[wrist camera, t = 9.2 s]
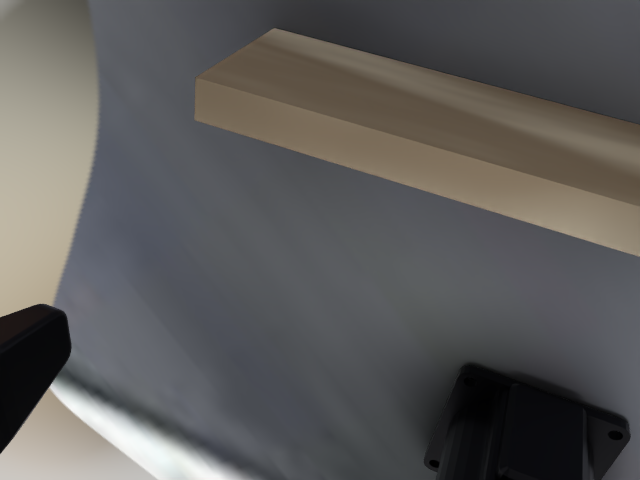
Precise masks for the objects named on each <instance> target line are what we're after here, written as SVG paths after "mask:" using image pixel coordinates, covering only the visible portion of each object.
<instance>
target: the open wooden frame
mask: <svg viewBox="0 0 640 480" xmlns="http://www.w3.org/2000/svg"><path fill="white" fill-rule="evenodd" d="M195 120H196V121H199V122H202V123H206V124H209V125H212V126H215V127H219V128H222V129H225V130H228V131H232V132H235V133H238V134H241V135H245V136H248V137H251V138H254V139H258V140H261V141H264V142H267V143H271V144H274V145H277V146H280V147H284V148H287V149H290V150H293V151H297V152H300V153H303V154H306V155H310V156H313V157H316V158H320V159H323V160H326V161H329V162H333V163H336V164H339V165H342V166H346V167H349V168H352V169H355V170H359V171H362V172H365V173H368V174H372V175H375V176H378V177H381V178H385V179H388V180H391V181H394V182H398V183H401V184H404V185H407V186H411V187H414V188H417V189H420V190H424V191H427V192H430V193H434V194H437V195H440V196H443V197H447V198H450V199H453V200H456V201H460V202H463V203H466V204H469V205H473V206H476V207H479V208H482V209H486V210H489V211H492V212H495V213H499V214H502V215H505V216H508V217H512V218H515V219H518V220H521V221H525V222H528V223H531V224H534V225H538V226H541V227H544V228H548V229H551V230H554V231H557V232H561V233H564V234H567V235H570V236H574V237H577V238H580V239H583V240H587V241H590V242H593V243H596V244H600V245H603V246H606V247H609V248H613V249H616V250H619V251H622V252H626V253H629V254H632V255H635V256H639V257H640V125H639V124H635V123H631V122H627V121H623V120H620V119H616V118H612V117H608V116H605V115H601V114H597V113H593V112H589V111H586V110H582V109H578V108H574V107H571V106H567V105H563V104H559V103H556V102H552V101H548V100H544V99H540V98H537V97H533V96H529V95H525V94H522V93H518V92H514V91H510V90H507V89H503V88H499V87H495V86H491V85H488V84H484V83H480V82H476V81H473V80H469V79H465V78H461V77H457V76H454V75H450V74H446V73H442V72H439V71H435V70H431V69H427V68H424V67H420V66H416V65H412V64H408V63H405V62H401V61H397V60H393V59H390V58H386V57H382V56H378V55H374V54H371V53H367V52H363V51H359V50H356V49H352V48H348V47H344V46H341V45H337V44H333V43H329V42H325V41H322V40H318V39H314V38H310V37H307V36H303V35H299V34H295V33H291V32H288V31H284V30H280V29H276V28H273V29H272V30H270V31H269V32H267V33H265V34H264V35H262V36H261V37H259V38H257V39H256V40H254V41H253V42H251V43H249V44H248V45H246V46H245V47H243V48H241V49H240V50H238V51H237V52H235V53H233V54H232V55H230V56H229V57H227V58H225V59H224V60H222V61H221V62H219V63H217V64H216V65H214V66H213V67H211V68H210V69H208V70H206V71H205V72H203V73H202V74H200V75H198V76H197V77H195Z"/></svg>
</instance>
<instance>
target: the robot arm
mask: <svg viewBox="0 0 640 480" xmlns="http://www.w3.org/2000/svg"><path fill="white" fill-rule="evenodd" d="M71 348H72V347H71V339H70V333H69V326H68V320H67V316H66V314H65V313H64V311H62V310H60V309H57V308H55V307H52V306H49V305H46V304H37V305H34V306H31V307H28V308H25V309H23V310H20V311H17V312H14V313H11V314H9V315H6V316H3V317H0V454H1V452H2V451H3V450H4V449H5V447H6V446H7V445H8V444H9V443H10V441H11V440H12V439H13V438H14V436H15V435H16V434H17V432H18V431H19V430H20V428H21V427H22V425H23V424H24V423H25V421H26V420H27V418H28V417H29V415H30V414H31V413H32V411H33V410H34V408H35V407H36V405H37V404H38V402H39V401H40V400H41V398H42V397H43V395H44V394H45V392H46V391H47V390H48V388H49V387H50V385H51V384H52V382H53V381H54V379H55V378H56V377H57V375H58V374H59V372H60V371H61V369H62V368H63V367H64V365H65V364H66V362H67V360H68V358H69V356H70V353H71ZM467 377H471V378H473V379H475V380H471V379H469V378H467ZM614 430H615V431H619V432H613V431H614ZM630 437H631V434H630V427H629V424H628V423H627V422H626V421H624V420H622V419H620V418H617V417H614V416H611V415H609V414H606V413H603V412H600V411H598V410H595V409H592V408H589V407H587V406H584V405H581V404H578V403H575V402H573V401H570V400H567V399H564V398H562V397H559V396H556V395H553V394H550V393H548V392H545V391H542V390H539V389H537V388H534V387H531V386H528V385H526V384H523V383H520V382H517V381H514V380H512V379H509V378H506V377H503V376H501V375H498V374H495V373H492V372H489V371H487V370H484V369H481V368H478V367H476V366H471V365H469V366H464V367H462V368H461V369H460V370H459V373H458V375H457V378H456V380H455V382H454V385H453V387H452V390H451V392H450V395H449V397H448V399H447V402H446V404H445V407H444V409H443V412H442V414H441V417H440V419H439V421H438V424H437V426H436V429H435V431H434V434H433V436H432V438H431V441H430V443H429V446H428V448H427V451H426V454H425V457H424V464H425V466H426V467H428V468H429V469H431V470H433V471H435V472H437V477H436V480H601V479H602V477H603V476H604V475H605V473H606V472H607V470H608V469H609V468H610V466H611V465H612V464H613V462H614V461H615V460H616V458H617V457H618V455H619V454H620V453H621V451H622V450H623V449H624V447H625V446H626V445H627V443H628V442H629V440H630Z"/></svg>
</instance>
